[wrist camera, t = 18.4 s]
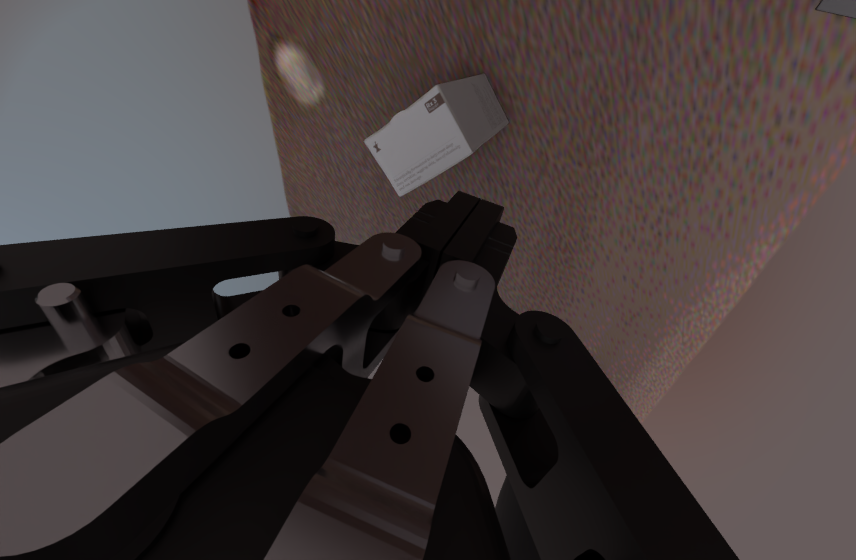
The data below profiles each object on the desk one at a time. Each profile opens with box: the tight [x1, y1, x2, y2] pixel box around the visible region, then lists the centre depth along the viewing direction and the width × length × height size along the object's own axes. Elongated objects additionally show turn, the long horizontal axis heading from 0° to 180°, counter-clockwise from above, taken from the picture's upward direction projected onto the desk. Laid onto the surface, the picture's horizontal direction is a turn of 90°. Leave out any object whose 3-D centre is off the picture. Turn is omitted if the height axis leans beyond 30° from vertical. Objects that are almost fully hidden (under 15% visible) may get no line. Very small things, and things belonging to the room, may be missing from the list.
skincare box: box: [364, 73, 509, 197], centre depth 35 cm, size 8×6×15 cm
